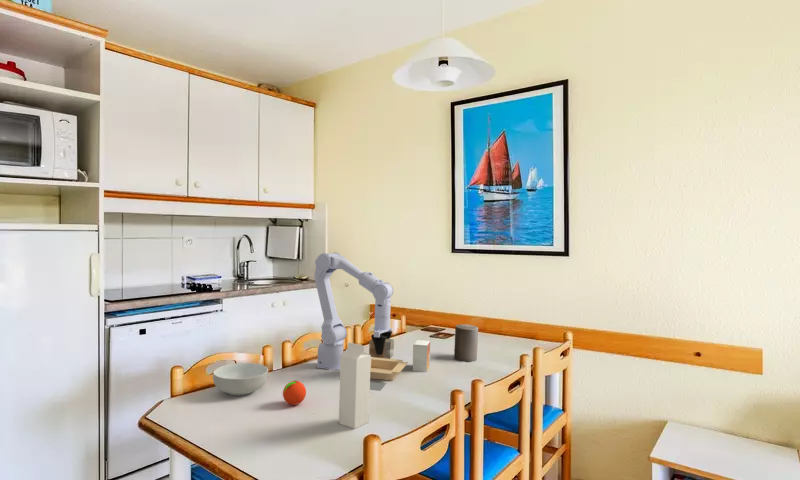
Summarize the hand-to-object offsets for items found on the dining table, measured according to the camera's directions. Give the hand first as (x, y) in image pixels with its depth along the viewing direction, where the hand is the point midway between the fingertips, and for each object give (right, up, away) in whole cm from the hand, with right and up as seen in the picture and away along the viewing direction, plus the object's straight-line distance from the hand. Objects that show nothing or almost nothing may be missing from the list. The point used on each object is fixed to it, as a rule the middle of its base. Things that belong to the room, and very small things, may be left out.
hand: (381, 352), depth 174 cm
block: (0, -1, 0) cm, 1 cm away
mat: (-5, -8, -13) cm, 16 cm away
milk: (-6, -9, -44) cm, 45 cm away
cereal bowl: (-45, -8, -22) cm, 50 cm away
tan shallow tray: (0, -8, 0) cm, 8 cm away
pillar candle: (+35, -9, +25) cm, 43 cm away
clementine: (-26, -8, -32) cm, 42 cm away
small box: (+15, -9, +8) cm, 19 cm away
